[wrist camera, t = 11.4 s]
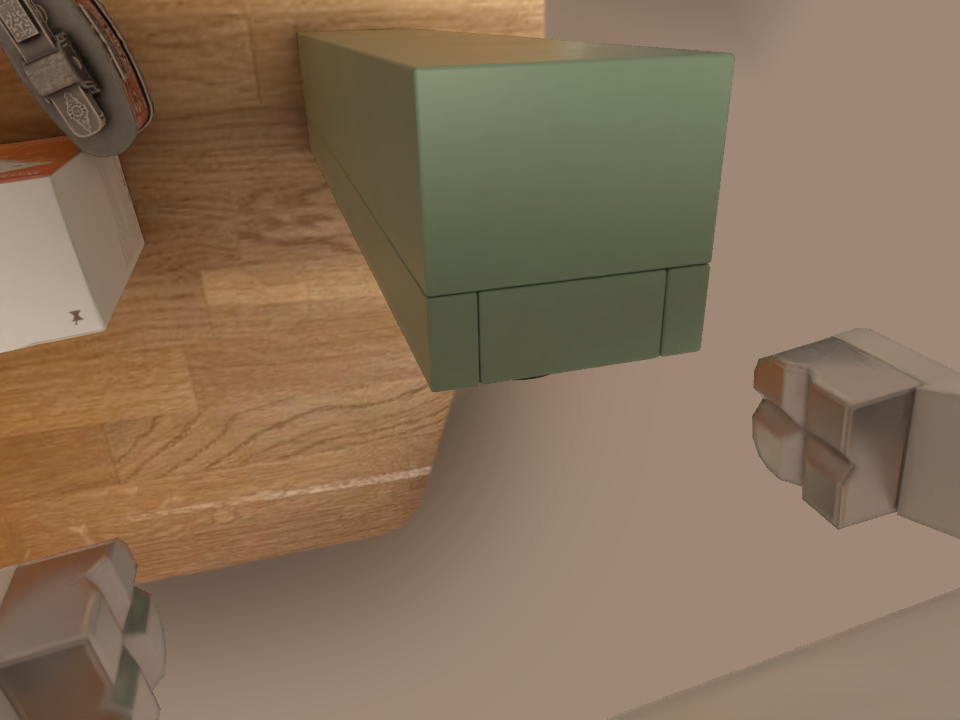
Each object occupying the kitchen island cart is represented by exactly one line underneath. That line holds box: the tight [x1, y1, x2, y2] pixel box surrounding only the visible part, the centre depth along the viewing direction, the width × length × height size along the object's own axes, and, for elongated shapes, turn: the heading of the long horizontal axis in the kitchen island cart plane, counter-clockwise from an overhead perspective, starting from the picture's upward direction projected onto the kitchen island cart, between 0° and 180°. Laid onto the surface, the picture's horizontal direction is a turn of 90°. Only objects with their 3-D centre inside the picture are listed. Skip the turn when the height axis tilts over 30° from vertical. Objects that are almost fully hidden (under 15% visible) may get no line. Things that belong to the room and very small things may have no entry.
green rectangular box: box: [297, 29, 735, 392], centre depth 27 cm, size 6×6×30 cm
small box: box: [0, 135, 145, 353], centre depth 32 cm, size 8×6×13 cm
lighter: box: [0, 0, 154, 157], centre depth 32 cm, size 8×3×10 cm, turn 22°
